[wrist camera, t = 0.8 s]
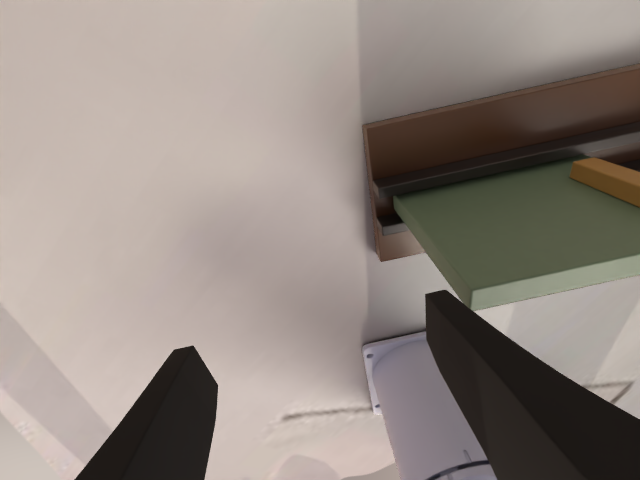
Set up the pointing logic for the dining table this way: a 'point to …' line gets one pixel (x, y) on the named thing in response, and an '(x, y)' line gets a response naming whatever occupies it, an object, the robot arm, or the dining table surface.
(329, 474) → the dining table surface
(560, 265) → the sliding door
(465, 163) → the door track
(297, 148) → the dining table surface
